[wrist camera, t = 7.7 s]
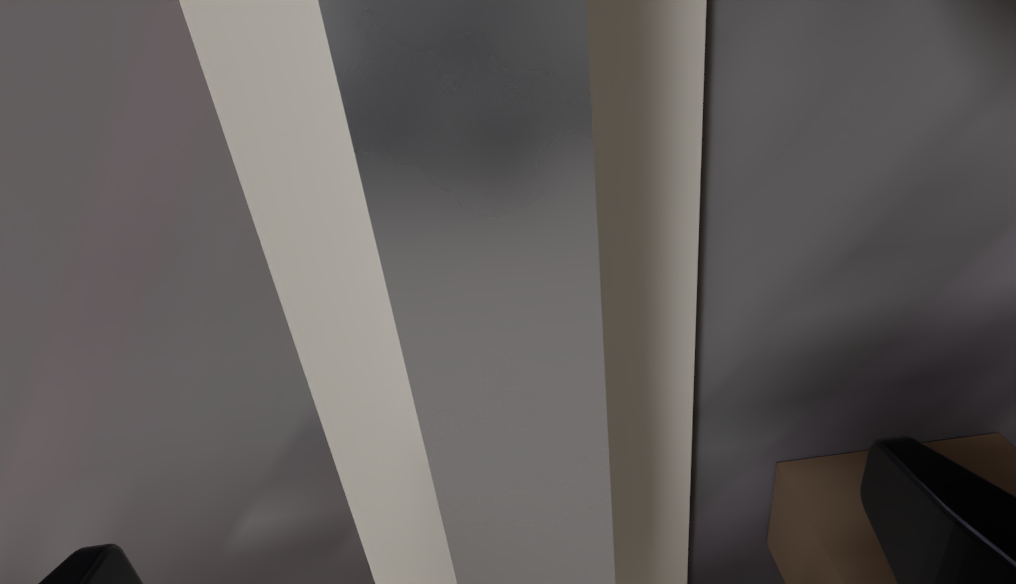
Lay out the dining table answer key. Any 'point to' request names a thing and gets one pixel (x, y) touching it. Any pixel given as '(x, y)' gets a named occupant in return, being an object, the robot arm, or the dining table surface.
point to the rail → (490, 266)
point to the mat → (363, 293)
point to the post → (854, 511)
